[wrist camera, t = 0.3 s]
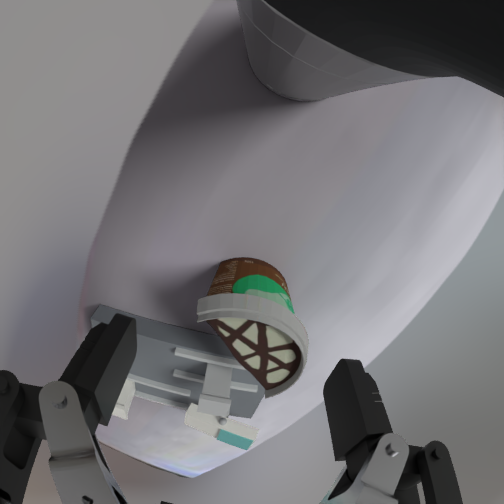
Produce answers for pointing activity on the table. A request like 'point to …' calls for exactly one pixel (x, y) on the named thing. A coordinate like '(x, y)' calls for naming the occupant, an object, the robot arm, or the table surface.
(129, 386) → the white slider
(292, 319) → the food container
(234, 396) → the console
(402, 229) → the table surface
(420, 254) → the table surface
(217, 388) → the grey slider
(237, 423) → the rocker
